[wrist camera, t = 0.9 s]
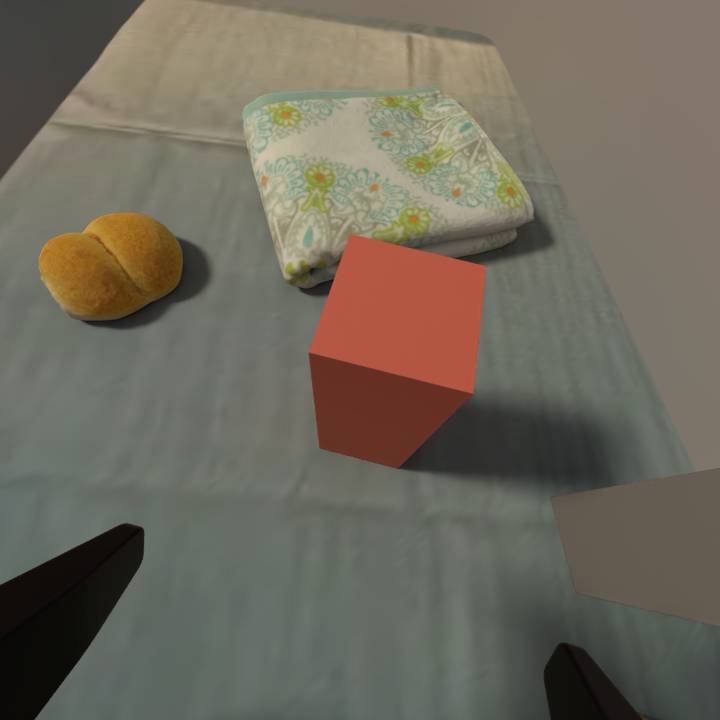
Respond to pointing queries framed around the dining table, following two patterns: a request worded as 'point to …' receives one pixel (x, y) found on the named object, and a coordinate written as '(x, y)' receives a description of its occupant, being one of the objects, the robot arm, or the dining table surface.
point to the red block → (394, 349)
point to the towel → (377, 176)
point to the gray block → (647, 544)
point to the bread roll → (111, 266)
